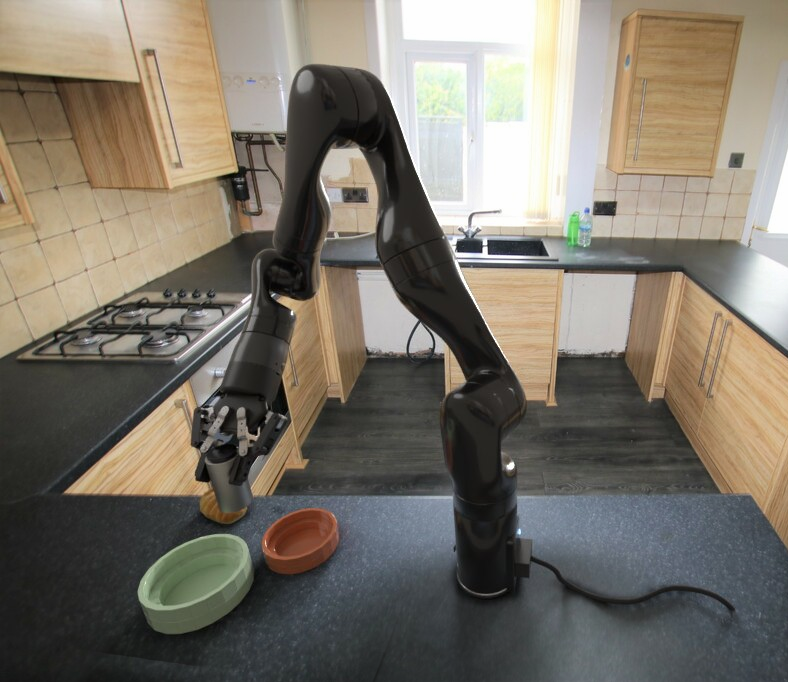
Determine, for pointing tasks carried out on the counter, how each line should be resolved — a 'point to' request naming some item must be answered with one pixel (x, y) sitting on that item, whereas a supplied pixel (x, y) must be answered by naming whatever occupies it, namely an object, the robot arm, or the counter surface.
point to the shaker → (227, 479)
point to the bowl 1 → (196, 583)
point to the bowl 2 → (300, 541)
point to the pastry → (217, 509)
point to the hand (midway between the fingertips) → (218, 482)
